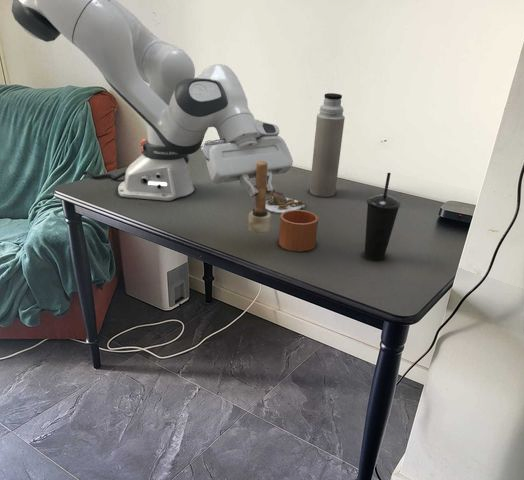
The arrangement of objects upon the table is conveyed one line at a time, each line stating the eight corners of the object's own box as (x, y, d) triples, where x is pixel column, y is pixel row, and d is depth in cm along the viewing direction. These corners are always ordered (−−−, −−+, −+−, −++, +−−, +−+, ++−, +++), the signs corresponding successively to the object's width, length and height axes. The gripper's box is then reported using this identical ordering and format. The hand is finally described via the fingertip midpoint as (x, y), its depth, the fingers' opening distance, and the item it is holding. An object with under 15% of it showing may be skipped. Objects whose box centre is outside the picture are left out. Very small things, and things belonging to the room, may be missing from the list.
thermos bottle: (310, 187, 165) (319, 90, 148) (335, 189, 164) (347, 92, 148) (309, 195, 158) (318, 95, 142) (335, 197, 158) (348, 97, 141)
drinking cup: (355, 249, 128) (367, 167, 116) (384, 249, 129) (400, 168, 117) (362, 263, 122) (376, 178, 110) (393, 263, 123) (411, 179, 111)
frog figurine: (254, 206, 149) (254, 193, 147) (277, 196, 157) (277, 183, 155) (287, 216, 144) (288, 203, 142) (309, 205, 152) (310, 192, 150)
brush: (244, 230, 119) (246, 163, 110) (254, 222, 123) (256, 158, 114) (264, 234, 117) (267, 167, 108) (273, 227, 121) (277, 161, 112)
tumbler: (280, 251, 125) (282, 224, 121) (277, 235, 133) (278, 209, 129) (318, 251, 126) (321, 224, 122) (312, 236, 134) (314, 210, 130)
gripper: (203, 133, 108) (226, 194, 107) (283, 125, 117) (305, 180, 116) (194, 150, 113) (216, 207, 113) (271, 140, 123) (292, 194, 122)
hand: (262, 194), depth 115 cm, fingers closed on brush, 2 cm apart
